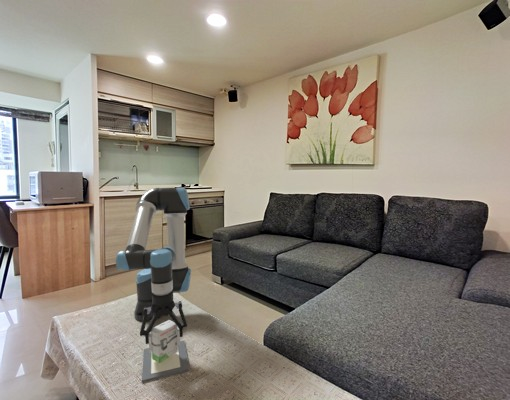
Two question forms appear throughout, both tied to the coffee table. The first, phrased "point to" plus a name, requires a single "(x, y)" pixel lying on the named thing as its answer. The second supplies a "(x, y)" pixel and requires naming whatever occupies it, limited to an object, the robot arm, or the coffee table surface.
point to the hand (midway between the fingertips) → (164, 347)
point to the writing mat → (164, 364)
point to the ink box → (164, 341)
